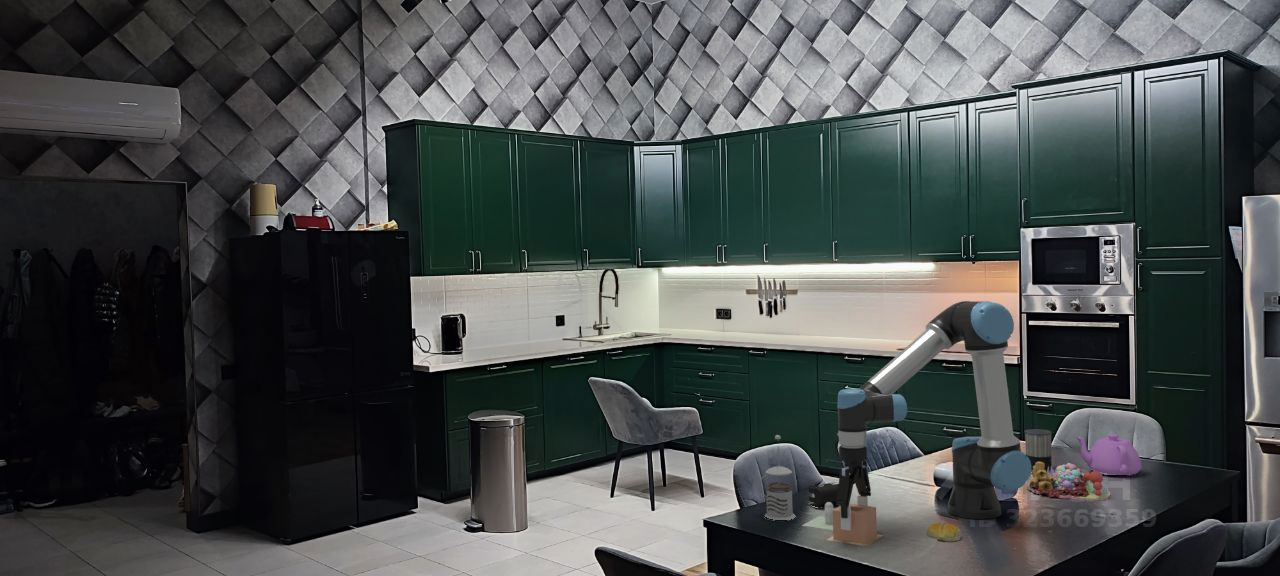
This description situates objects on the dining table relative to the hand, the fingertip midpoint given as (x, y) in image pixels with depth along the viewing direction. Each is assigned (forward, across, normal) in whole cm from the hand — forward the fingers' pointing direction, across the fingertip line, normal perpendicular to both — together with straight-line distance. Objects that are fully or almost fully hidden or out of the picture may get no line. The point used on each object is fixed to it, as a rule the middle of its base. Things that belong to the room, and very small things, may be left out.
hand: (854, 524), depth 253 cm
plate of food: (+5, -86, +38) cm, 94 cm away
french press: (+4, -12, -30) cm, 33 cm away
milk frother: (+4, -113, +20) cm, 115 cm away
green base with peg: (+4, -10, -12) cm, 16 cm away
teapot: (+4, -121, +45) cm, 129 cm away
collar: (+4, 0, 0) cm, 4 cm away
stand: (+4, 0, 0) cm, 4 cm away
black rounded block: (+5, -31, -22) cm, 38 cm away
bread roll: (+5, -14, +20) cm, 25 cm away
